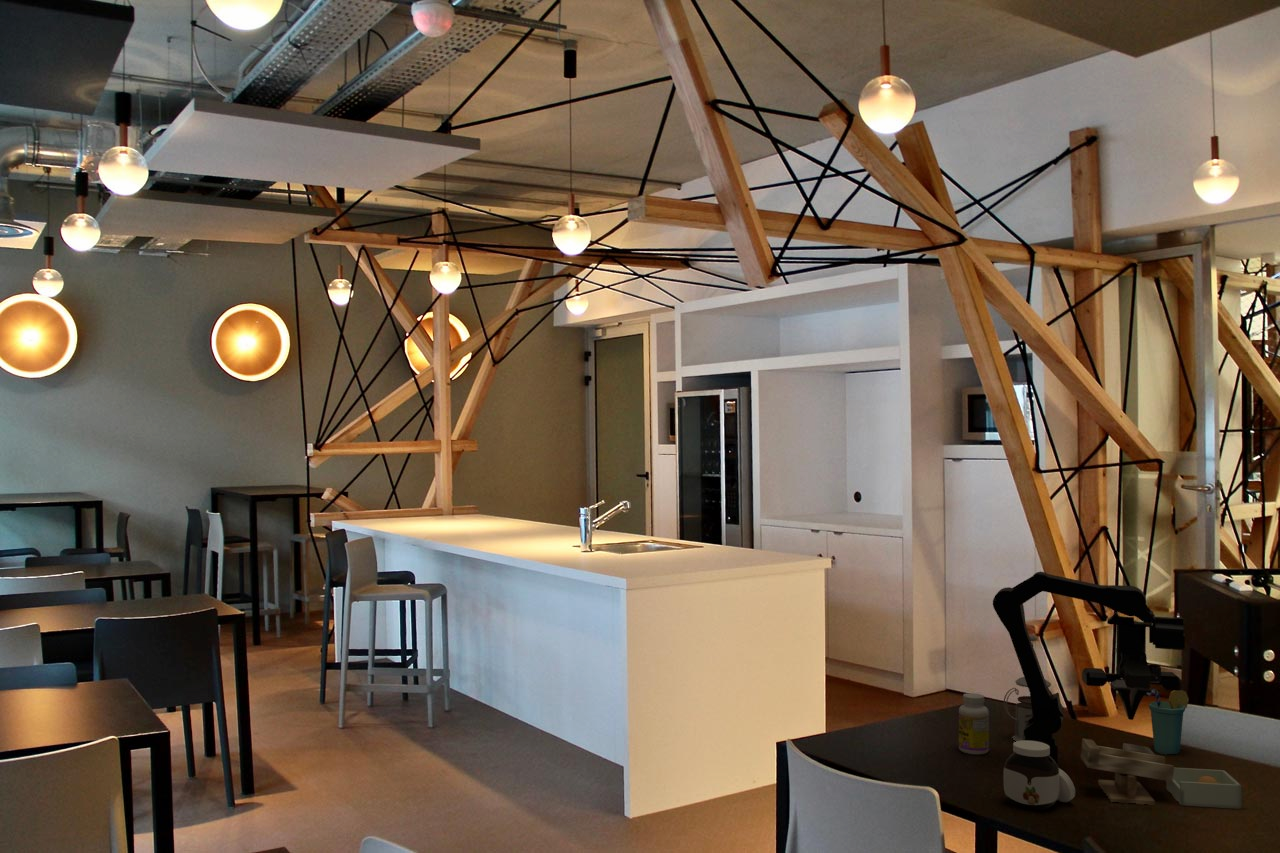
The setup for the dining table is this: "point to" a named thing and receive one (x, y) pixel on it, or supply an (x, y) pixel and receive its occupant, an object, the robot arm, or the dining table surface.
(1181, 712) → the cup
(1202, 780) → the ball
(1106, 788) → the stand
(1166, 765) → the lever
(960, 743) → the supplement bottle
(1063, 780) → the spread jar
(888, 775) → the dining table surface
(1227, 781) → the tray
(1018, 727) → the french press
